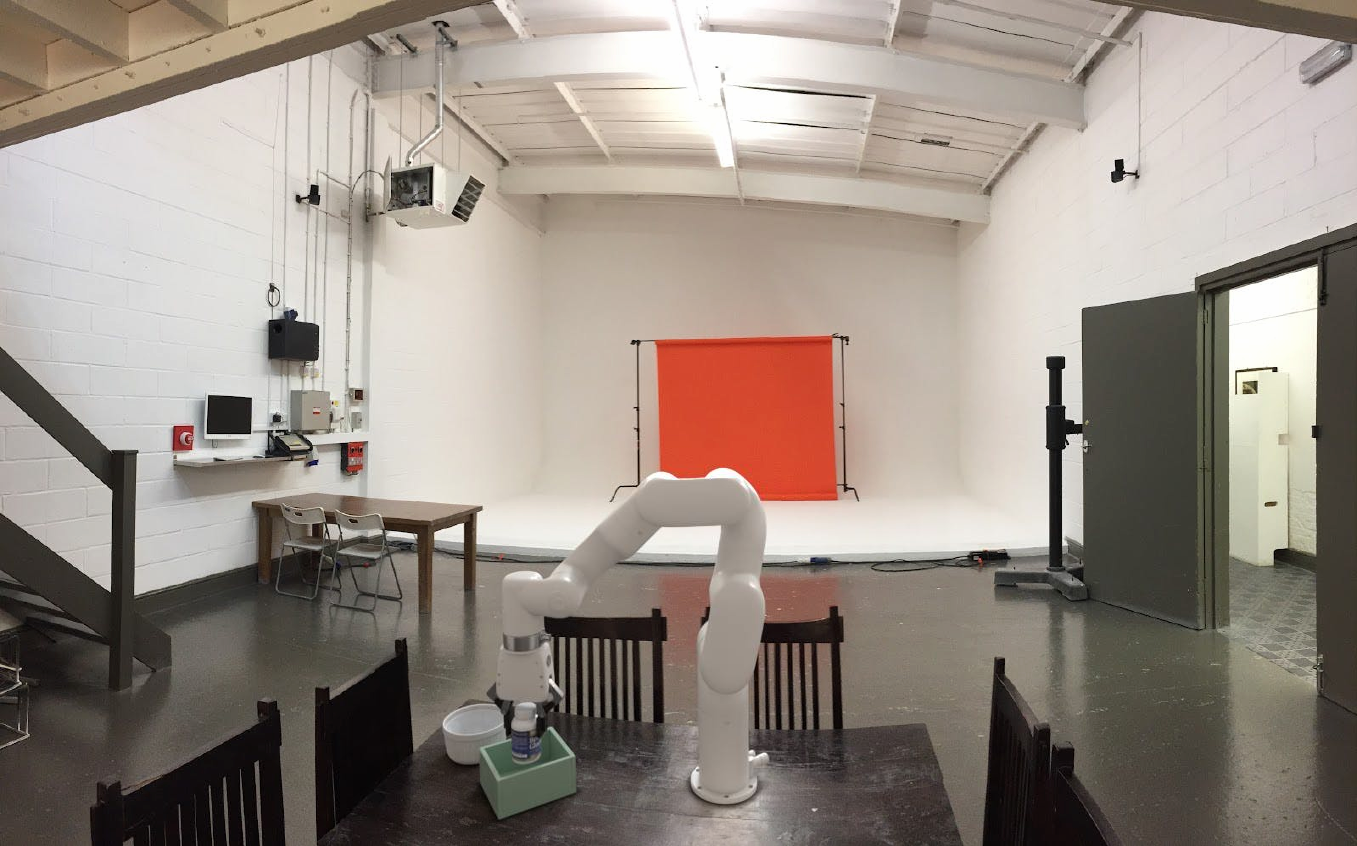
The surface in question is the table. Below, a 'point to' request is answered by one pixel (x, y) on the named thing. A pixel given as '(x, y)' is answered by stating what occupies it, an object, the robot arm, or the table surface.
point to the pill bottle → (525, 734)
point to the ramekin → (472, 731)
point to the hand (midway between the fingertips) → (526, 732)
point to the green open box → (526, 775)
